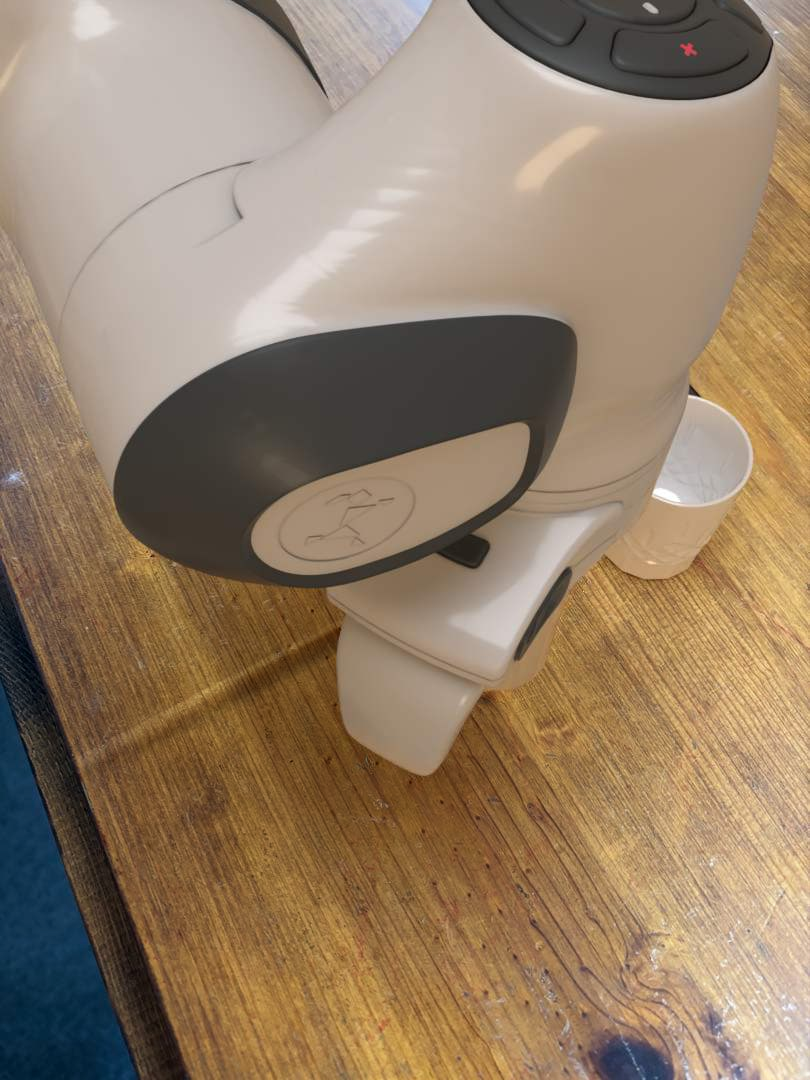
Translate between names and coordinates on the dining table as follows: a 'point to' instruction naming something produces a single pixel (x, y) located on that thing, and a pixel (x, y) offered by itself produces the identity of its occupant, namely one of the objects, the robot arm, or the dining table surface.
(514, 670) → the salt shaker
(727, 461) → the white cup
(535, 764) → the dining table surface
